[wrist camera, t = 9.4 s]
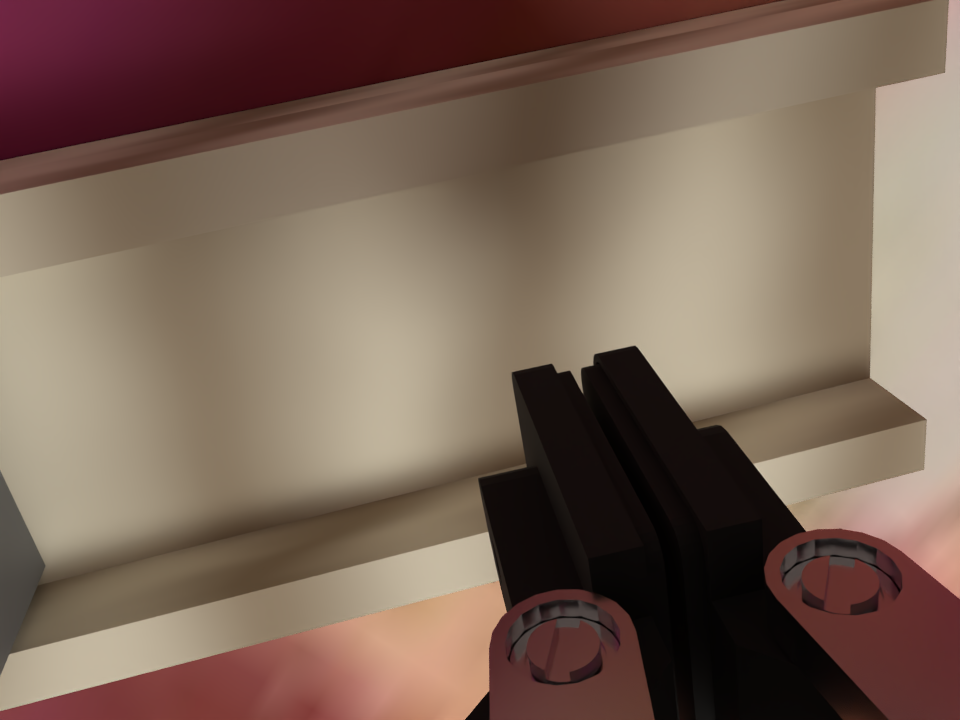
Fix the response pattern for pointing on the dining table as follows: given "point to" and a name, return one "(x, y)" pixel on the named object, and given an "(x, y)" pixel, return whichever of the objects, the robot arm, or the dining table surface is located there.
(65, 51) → the dining table surface
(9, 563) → the slate block
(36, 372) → the birch chute
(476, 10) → the dining table surface
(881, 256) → the dining table surface
